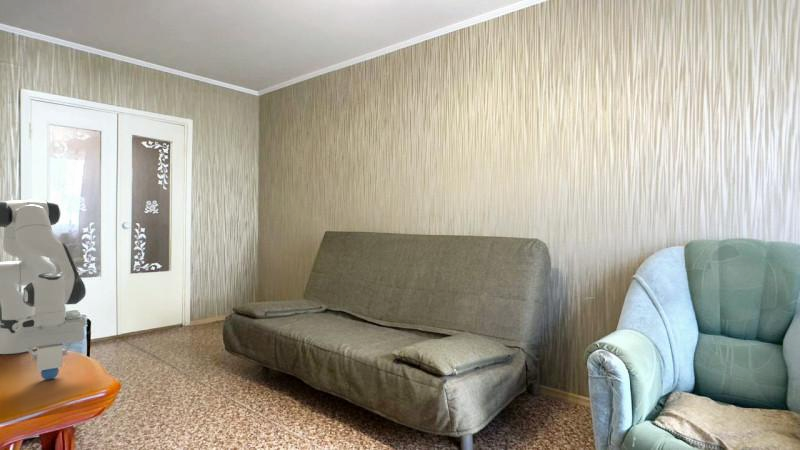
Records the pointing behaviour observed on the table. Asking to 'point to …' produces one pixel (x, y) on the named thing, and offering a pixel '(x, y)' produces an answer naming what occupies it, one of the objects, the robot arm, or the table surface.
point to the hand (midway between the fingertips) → (49, 357)
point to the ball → (49, 373)
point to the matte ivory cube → (49, 357)
